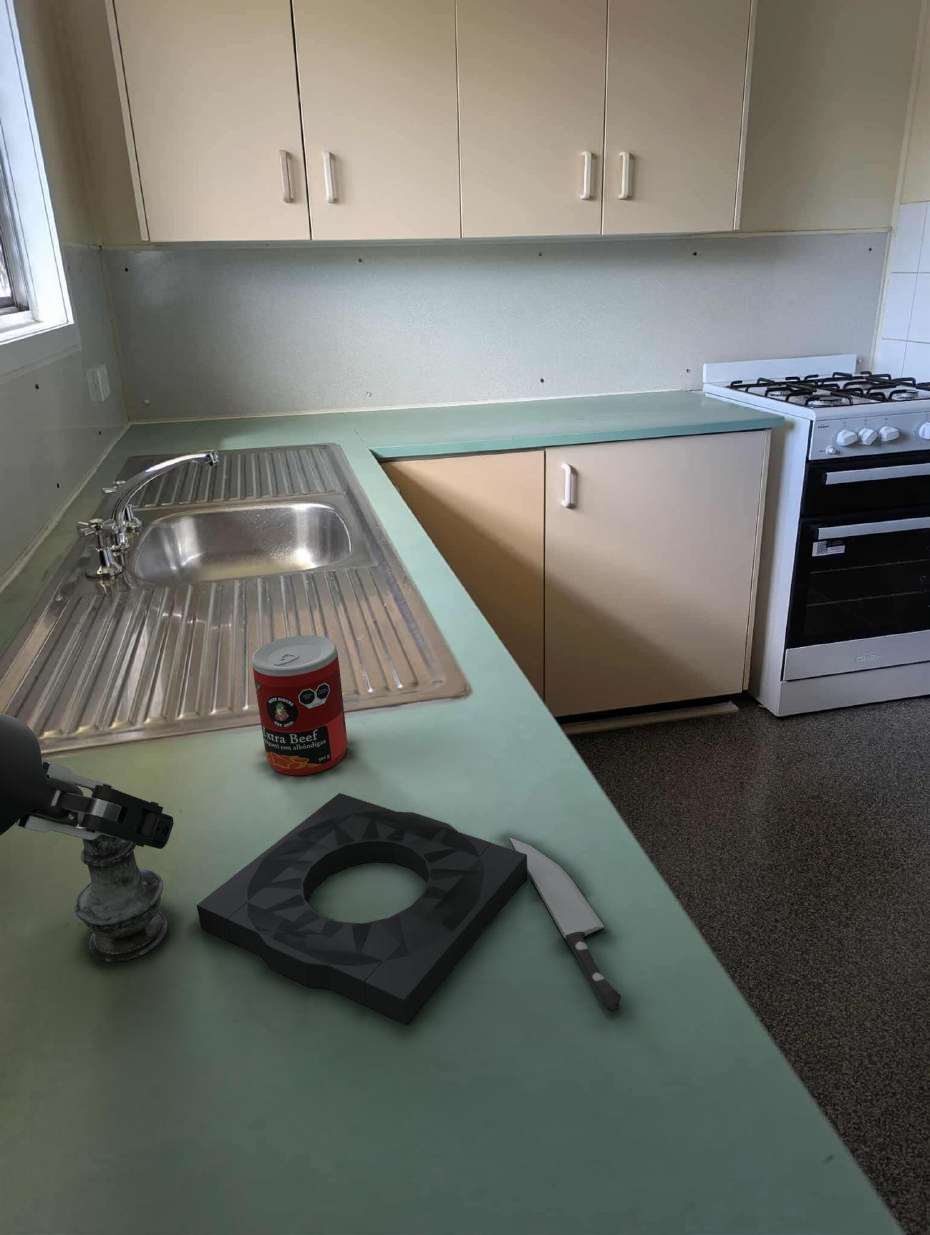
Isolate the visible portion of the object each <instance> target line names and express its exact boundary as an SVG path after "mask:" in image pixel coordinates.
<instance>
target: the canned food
mask: <svg viewBox="0 0 930 1235" xmlns="http://www.w3.org/2000/svg"><path fill="white" fill-rule="evenodd" d="M338 652H339V651H338V648H337V644H336V643H335V642H334V641H333V640H332V639H330V638H329V637H325V636H319V635H312V634H311V635H309V634H304V635H303V634H302V635H292V636H287V637H283V638H279V639H275V640H272V641H270V642H268V643H265V644H264V645H261V646H260V647H259V648H257V649H256V650H255V651H254V653H253V654H252V656H251V667H252V675H253V681H254V688H255V695H256V701H257V707H258V714H259V721H260V726H261V732H262V740H263V746H264V752H265V757H266V760H267V761H268V764H269V765H270V767H271V768H272V769H273V770H275V771H276V772H278V773H281V774H284V775H288V776H307V775H312V774H317V773H320V772H323V771H326V770H327V769H330V768H332V767H334V766H335V765H337V764H338V763H339V762H340V761H341V760H342V759H343V758H344V756H345V754H346V751H347V746H348V734H347V726H346V725H347V724H346V716H345V707H344V705H345V704H344V696H343V686H342V679H341V668H340V659H339V653H338Z"/></svg>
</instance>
